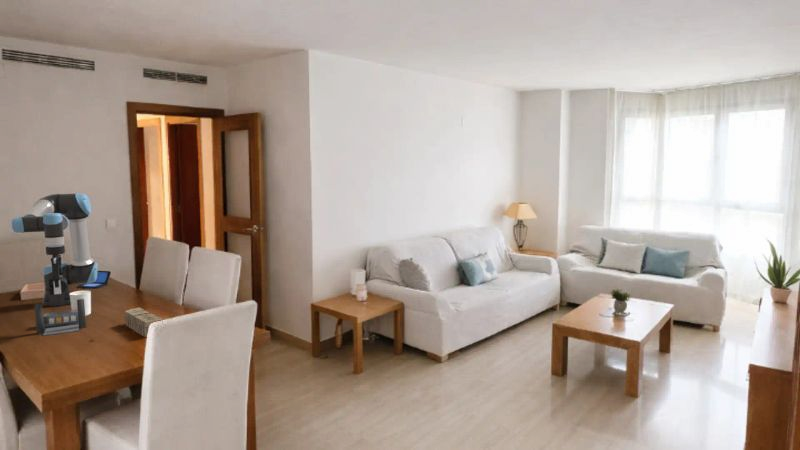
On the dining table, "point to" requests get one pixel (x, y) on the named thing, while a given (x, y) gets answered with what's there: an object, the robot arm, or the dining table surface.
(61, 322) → the breaker panel
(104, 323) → the dining table surface
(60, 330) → the mat
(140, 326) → the block tower
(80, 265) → the robot arm
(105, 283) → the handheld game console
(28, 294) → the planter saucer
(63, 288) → the black rounded block
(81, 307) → the post
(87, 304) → the candle holder
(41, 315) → the post
